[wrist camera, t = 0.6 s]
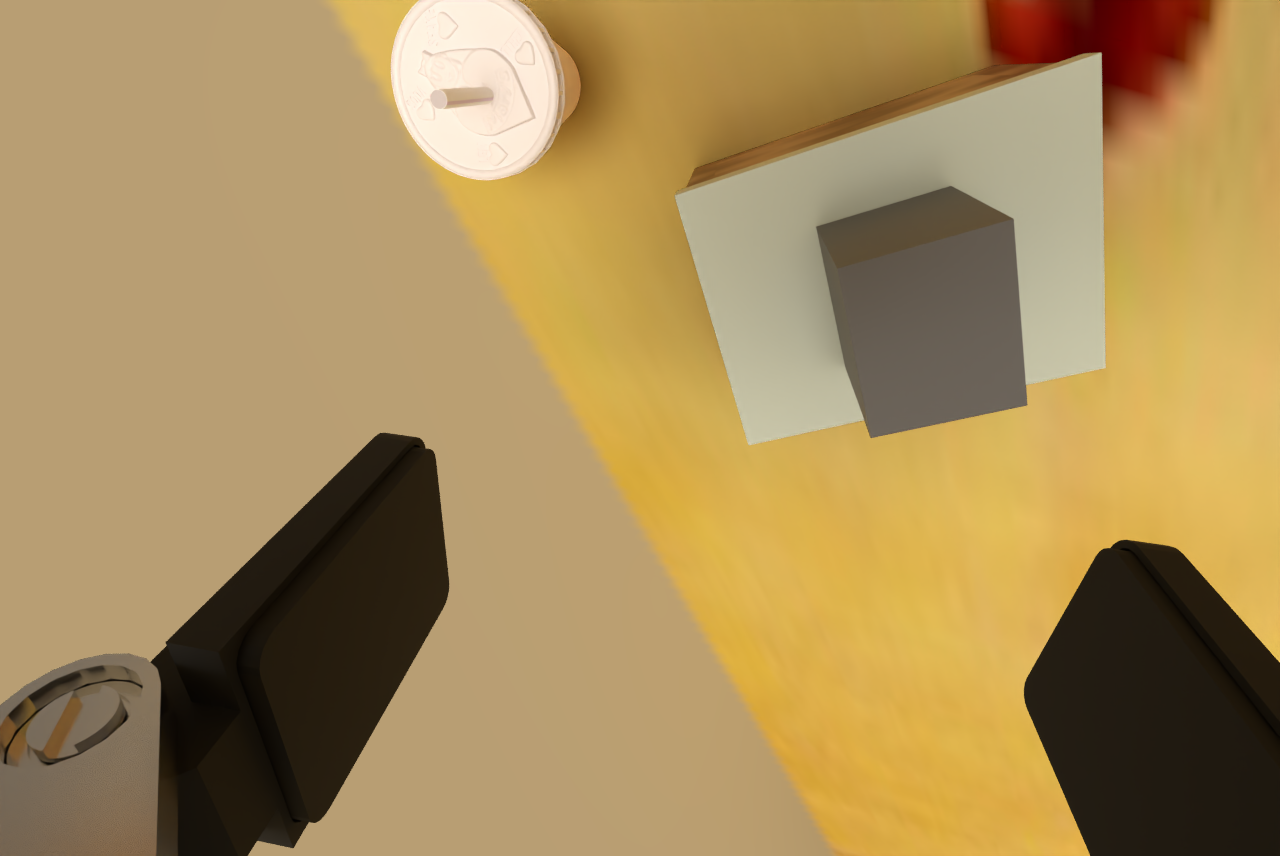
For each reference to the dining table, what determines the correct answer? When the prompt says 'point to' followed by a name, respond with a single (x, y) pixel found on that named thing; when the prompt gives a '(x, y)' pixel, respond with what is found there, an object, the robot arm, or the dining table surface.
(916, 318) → the lid
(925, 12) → the dining table surface
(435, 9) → the smoothie
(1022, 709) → the dining table surface
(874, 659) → the dining table surface
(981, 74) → the wooden box
